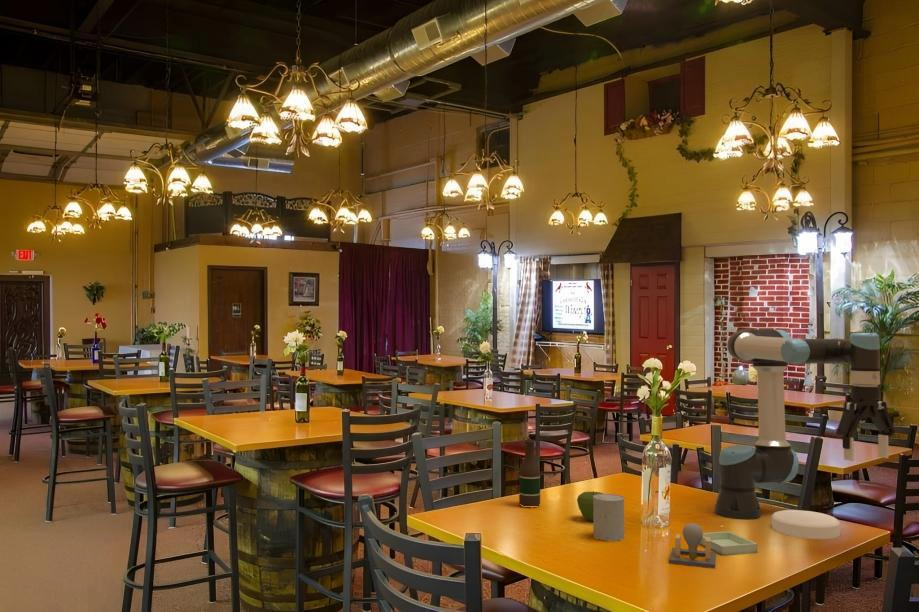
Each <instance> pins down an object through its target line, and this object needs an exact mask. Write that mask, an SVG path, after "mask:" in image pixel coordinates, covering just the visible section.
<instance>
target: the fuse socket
mask: <svg viewBox="0 0 919 612" xmlns="http://www.w3.org/2000/svg"><path fill="white" fill-rule="evenodd" d="M674 538H675V539H674V541H675V542H674V545H675V546H674V547H672V548H671V551H670V554H669V559H668V564H673V565H682V566H693V567H700V568H708V569H716V561H717V553H716V552H714V551H711V550H710V537H706V540H705V550H701V549H700V550H699V549H697V554H696V555H697V557H700V558H701V557H703V558H704V559H705V560H701V559H694V560H693V559H691V558H683V557H681V556H682V555H684V556H689V548H688V549H687V548H682V545H681V544H682V543H681V542H682V539H681V538H682V535H681V534H680V533H679V534H677V533H676V534H675V537H674Z"/></svg>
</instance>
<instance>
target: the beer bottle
mask: <svg viewBox="0 0 919 612" xmlns="http://www.w3.org/2000/svg"><path fill="white" fill-rule="evenodd" d="M535 443H536V441H535V439H533V438H532V439H531V438H529V439H525V441H524V444H525V446H524V447H525V449H524V460H523V462H522V464H521V466H520V469H519V475H518V476H519V479H518V480H519V482H518V483H519V484H518V485H519V487H518V489H519V491H518V493H519V494H518V499H519V500H518V501H519V504H521V505H523V506H539V504H540V505H541V470H540V467H539V465H538V463H537V462H536V453H535ZM539 507H540V506H539Z"/></svg>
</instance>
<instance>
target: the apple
mask: <svg viewBox="0 0 919 612" xmlns="http://www.w3.org/2000/svg"><path fill="white" fill-rule="evenodd" d="M597 494H605V492H604V493H603V492H600V491H594V490H592V491H584V492H581V493H580V494H578V496H577V499H576V501H577V506H578V508H579V511H580V514H581V516H582V517H583V518H584V519H586V521H588V520H590V522H593V496H594V495H597Z"/></svg>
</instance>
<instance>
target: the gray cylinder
mask: <svg viewBox="0 0 919 612" xmlns="http://www.w3.org/2000/svg"><path fill="white" fill-rule="evenodd" d="M592 522H593V523H592V525H593V528H592V529H593V531H592V532H593V535H594V537H595V538H598V539H601V540H605V541H604V542H609V541H615V542H619V541H618V540H622V539H624V540H625V538H624V537H625V497H624V496H623V495H620V494H616V493H615V494H613V493H604V494H597V495H594V496H593V521H592ZM594 537H593V538H594ZM595 538H594V539H595ZM598 539H597V540H598ZM601 540H600V541H601ZM622 541H623V540H622Z"/></svg>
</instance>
